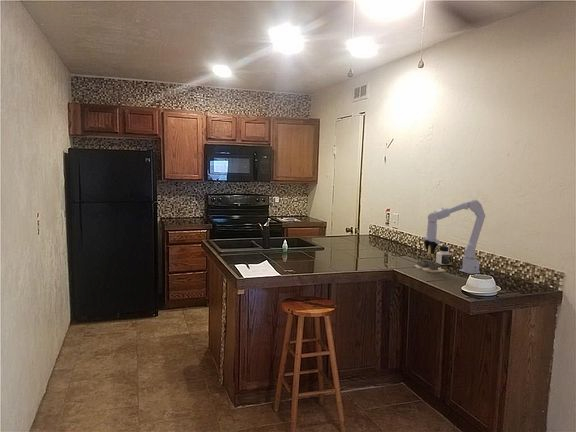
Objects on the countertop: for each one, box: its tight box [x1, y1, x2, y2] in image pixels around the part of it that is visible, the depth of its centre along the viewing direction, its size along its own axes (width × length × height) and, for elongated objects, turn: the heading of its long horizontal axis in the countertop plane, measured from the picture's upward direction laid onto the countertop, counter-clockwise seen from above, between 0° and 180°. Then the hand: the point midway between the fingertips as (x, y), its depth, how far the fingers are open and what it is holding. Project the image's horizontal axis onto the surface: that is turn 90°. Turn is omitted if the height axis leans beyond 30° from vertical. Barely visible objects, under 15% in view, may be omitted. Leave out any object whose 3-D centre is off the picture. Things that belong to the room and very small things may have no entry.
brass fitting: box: [426, 245, 434, 258], centre depth 281 cm, size 4×4×7 cm
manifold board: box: [412, 259, 446, 274], centre depth 277 cm, size 17×11×4 cm, turn 20°
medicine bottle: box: [435, 245, 452, 266], centre depth 294 cm, size 7×7×12 cm
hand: (430, 253), depth 281 cm, fingers closed on brass fitting, 3 cm apart
